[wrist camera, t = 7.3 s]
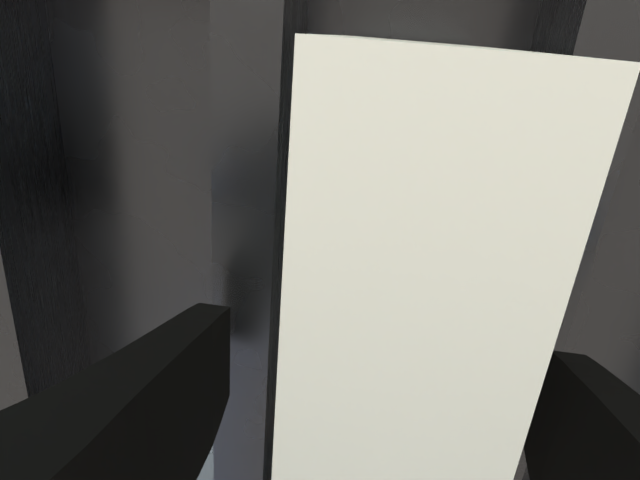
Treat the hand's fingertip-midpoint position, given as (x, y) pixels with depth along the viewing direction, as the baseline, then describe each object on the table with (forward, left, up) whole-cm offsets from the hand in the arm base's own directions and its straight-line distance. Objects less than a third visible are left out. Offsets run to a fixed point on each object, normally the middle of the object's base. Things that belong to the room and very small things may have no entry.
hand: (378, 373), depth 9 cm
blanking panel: (0, 0, -3) cm, 3 cm away
